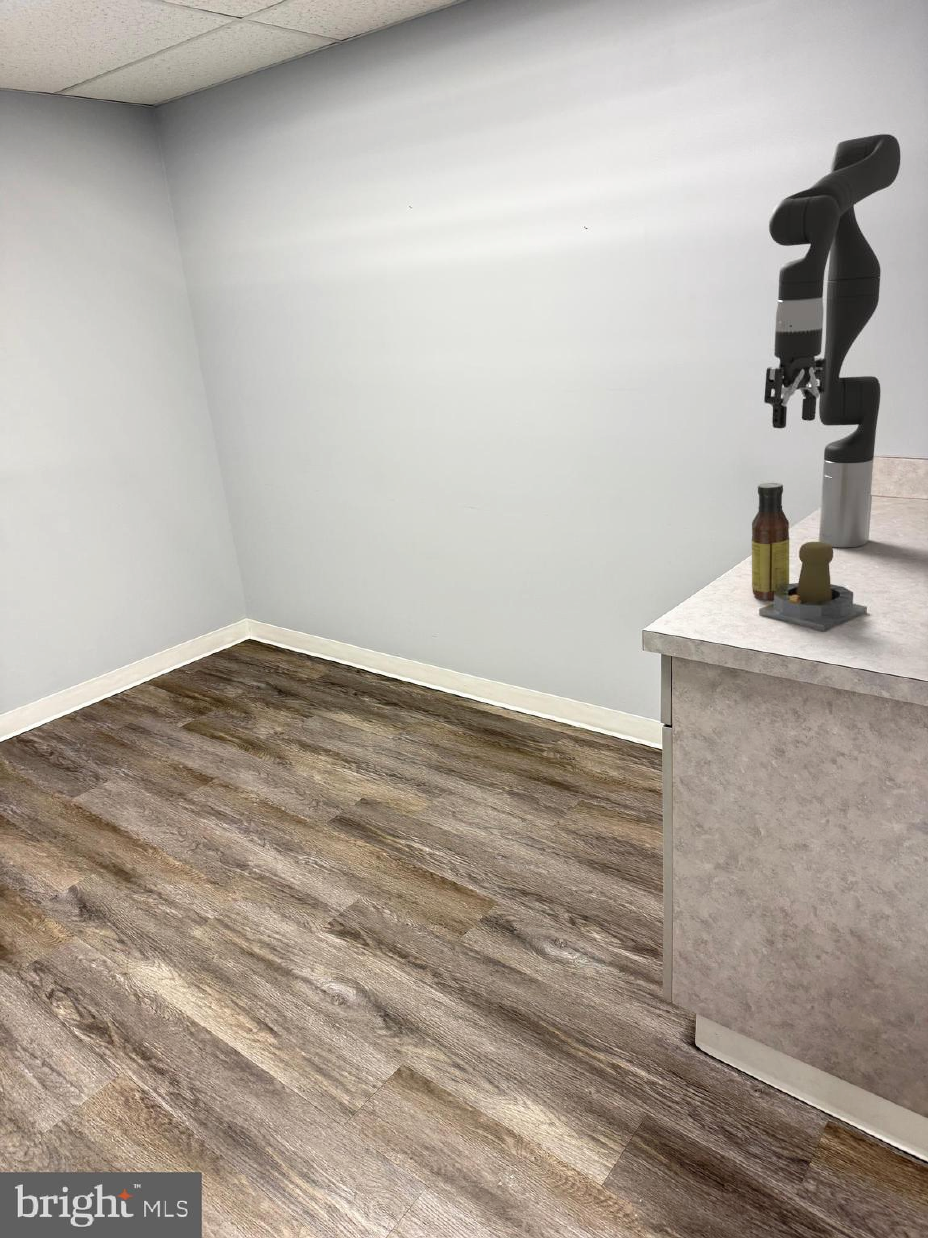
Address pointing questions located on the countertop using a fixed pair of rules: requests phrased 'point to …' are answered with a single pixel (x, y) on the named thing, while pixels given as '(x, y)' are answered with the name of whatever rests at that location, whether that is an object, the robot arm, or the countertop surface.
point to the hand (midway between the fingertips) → (794, 423)
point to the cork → (815, 572)
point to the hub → (813, 608)
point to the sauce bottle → (770, 543)
